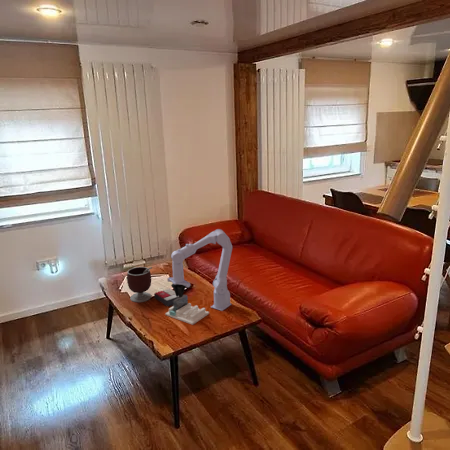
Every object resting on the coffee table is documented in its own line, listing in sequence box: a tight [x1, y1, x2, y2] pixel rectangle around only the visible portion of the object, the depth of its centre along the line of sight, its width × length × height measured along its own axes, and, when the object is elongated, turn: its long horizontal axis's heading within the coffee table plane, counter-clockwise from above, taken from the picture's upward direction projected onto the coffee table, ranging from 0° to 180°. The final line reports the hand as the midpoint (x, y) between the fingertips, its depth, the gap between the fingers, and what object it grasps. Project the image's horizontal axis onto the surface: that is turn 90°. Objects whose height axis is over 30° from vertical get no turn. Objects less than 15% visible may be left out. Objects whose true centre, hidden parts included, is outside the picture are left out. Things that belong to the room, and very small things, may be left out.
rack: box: [164, 302, 210, 326], centre depth 210 cm, size 14×19×4 cm
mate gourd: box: [126, 266, 153, 303], centre depth 228 cm, size 16×14×20 cm
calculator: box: [153, 288, 179, 307], centre depth 228 cm, size 11×4×15 cm
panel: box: [172, 294, 189, 313], centre depth 212 cm, size 9×2×7 cm, turn 145°
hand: (179, 296), depth 210 cm, fingers closed
